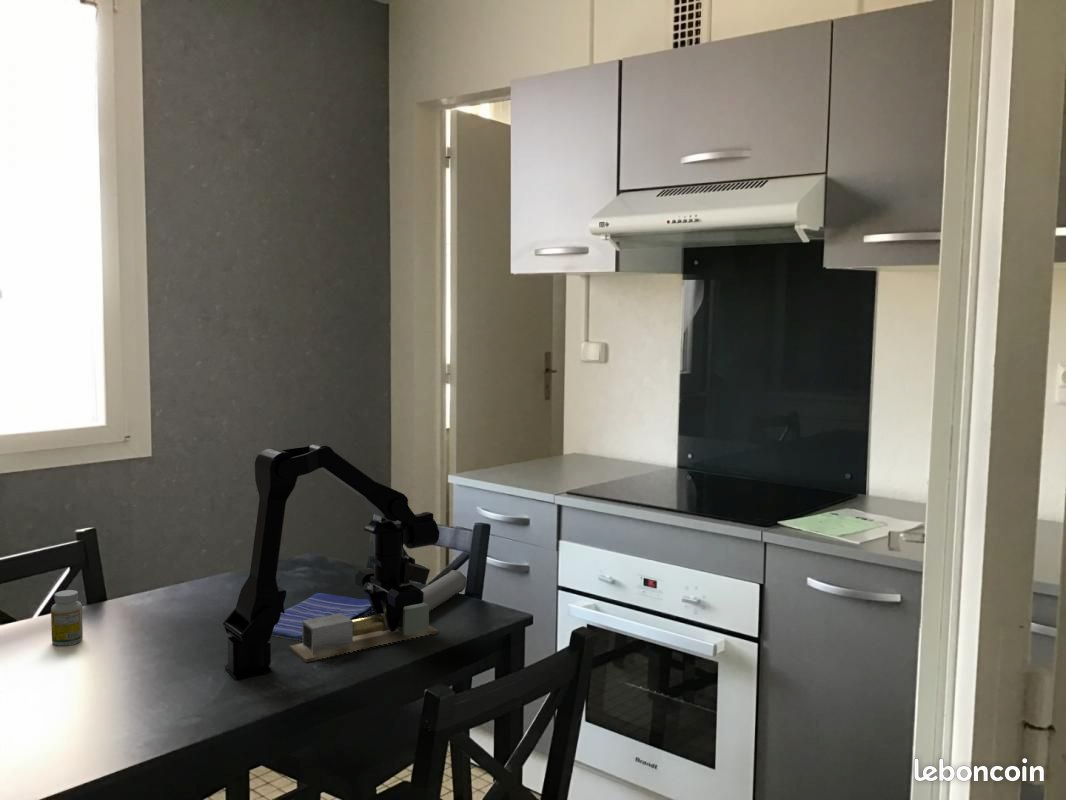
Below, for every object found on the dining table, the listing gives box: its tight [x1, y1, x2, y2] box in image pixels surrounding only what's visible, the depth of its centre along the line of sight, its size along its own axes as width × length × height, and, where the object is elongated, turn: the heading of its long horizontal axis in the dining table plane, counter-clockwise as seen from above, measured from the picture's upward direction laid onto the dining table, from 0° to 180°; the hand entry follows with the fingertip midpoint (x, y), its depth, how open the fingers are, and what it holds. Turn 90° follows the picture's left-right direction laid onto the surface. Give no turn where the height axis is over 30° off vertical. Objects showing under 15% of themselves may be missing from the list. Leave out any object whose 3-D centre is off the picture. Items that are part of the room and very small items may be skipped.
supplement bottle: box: [50, 589, 84, 647], centre depth 173 cm, size 5×5×10 cm
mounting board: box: [289, 625, 439, 663], centre depth 177 cm, size 28×8×1 cm, turn 126°
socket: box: [396, 602, 430, 636], centre depth 182 cm, size 6×6×5 cm
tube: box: [420, 569, 467, 613], centre depth 198 cm, size 5×5×25 cm
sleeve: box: [301, 613, 353, 655], centre depth 172 cm, size 8×5×5 cm, turn 126°
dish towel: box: [271, 592, 375, 642], centre depth 188 cm, size 17×24×3 cm
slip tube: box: [352, 611, 403, 637], centre depth 177 cm, size 16×4×4 cm, turn 126°
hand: (388, 628), depth 179 cm, fingers closed on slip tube, 4 cm apart
